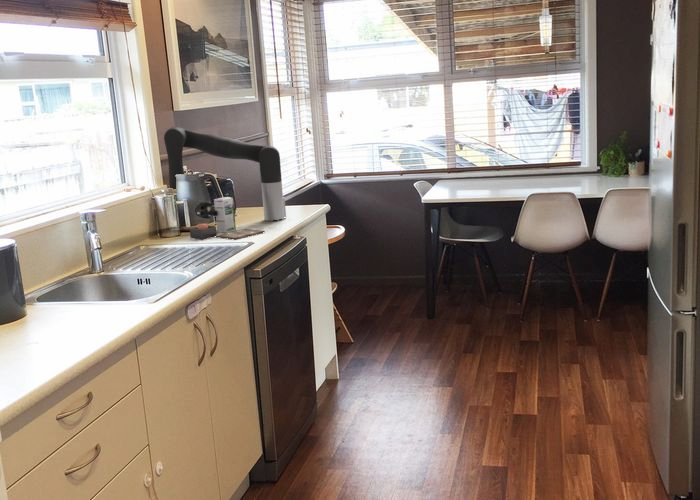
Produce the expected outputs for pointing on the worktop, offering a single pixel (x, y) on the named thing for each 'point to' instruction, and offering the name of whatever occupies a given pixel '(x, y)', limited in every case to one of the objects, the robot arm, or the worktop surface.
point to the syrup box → (225, 214)
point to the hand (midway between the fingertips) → (224, 211)
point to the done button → (202, 226)
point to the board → (240, 234)
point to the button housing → (203, 233)
